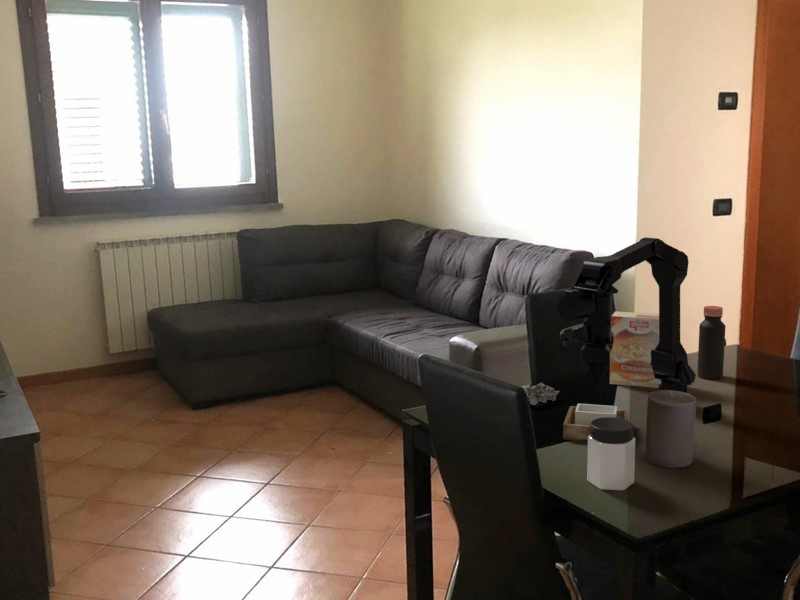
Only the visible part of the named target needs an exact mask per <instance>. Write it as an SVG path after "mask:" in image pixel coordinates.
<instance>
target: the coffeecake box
mask: <svg viewBox="0 0 800 600" xmlns="http://www.w3.org/2000/svg"><path fill="white" fill-rule="evenodd" d="M611 317H612V322H611V331H612V332H613V333H614V343H613V347H612V350H611V352H610V361H609V363H610V364H609V385H616V386H617V385H618V386H630V387H631V386H632V387H639V388H651V389H658V386H659V384H661V380H660V379H655V377H654V373H653V370H652V365H650V363H651V350H655V348H656V347H657V345H658V344H659V313H652V312H651V313H649V312H636V311H634V312H633V311H632V312H631V311H616V310H615V311H614V312H613V314H611Z"/></svg>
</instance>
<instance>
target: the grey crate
mask: <svg viewBox="0 0 800 600" xmlns="http://www.w3.org/2000/svg"><path fill="white" fill-rule="evenodd" d="M576 406H577V407H576V411H575V424H577V425H590V424H591V422H592V421H593V420H595V419H598V418H605V417H612V418H617V410H618V406H616V405H606V404H605V405H603V404H602V405H601V404H593V403H591V404H590V403H577V405H576Z"/></svg>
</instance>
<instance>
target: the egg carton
mask: <svg viewBox="0 0 800 600" xmlns="http://www.w3.org/2000/svg"><path fill="white" fill-rule="evenodd" d="M524 388H525V389H526V391H527V393H528V395H530V396H528V397H529V401H530V404H532V405H536V404H538V402H543V403H546V402H547V400H552V401H555V400H556V401H557V395H559V393H560V390H556V389H555V387H551V386H549V385H546V384H544V383H543V382H539V383H538V384H535V385H532V386H531V385H529V386H528V387H524ZM536 393H537V394H536ZM547 403H548V402H547ZM538 405H539V404H538Z"/></svg>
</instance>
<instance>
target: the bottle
mask: <svg viewBox="0 0 800 600" xmlns="http://www.w3.org/2000/svg"><path fill="white" fill-rule="evenodd" d="M723 309H724V308H723V307H722V306H717V305H705V306H704V307H703V317H704V319H703V320H702V322H700V323H699V326H698V327H699V328H698V329H699V331H698V347H697V348H698V351H697V352H698V354H697V373H696V375H697V376H698V377H699V378H701V379H704V380H710V381H711V380H712V381H713V380H721V379H723V377H724V366H725V365H724V363H725V362H724V361H725V346H726V345H725V342H726V325H725V323H724V322H723V321H722V318H723V313H724V310H723Z"/></svg>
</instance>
